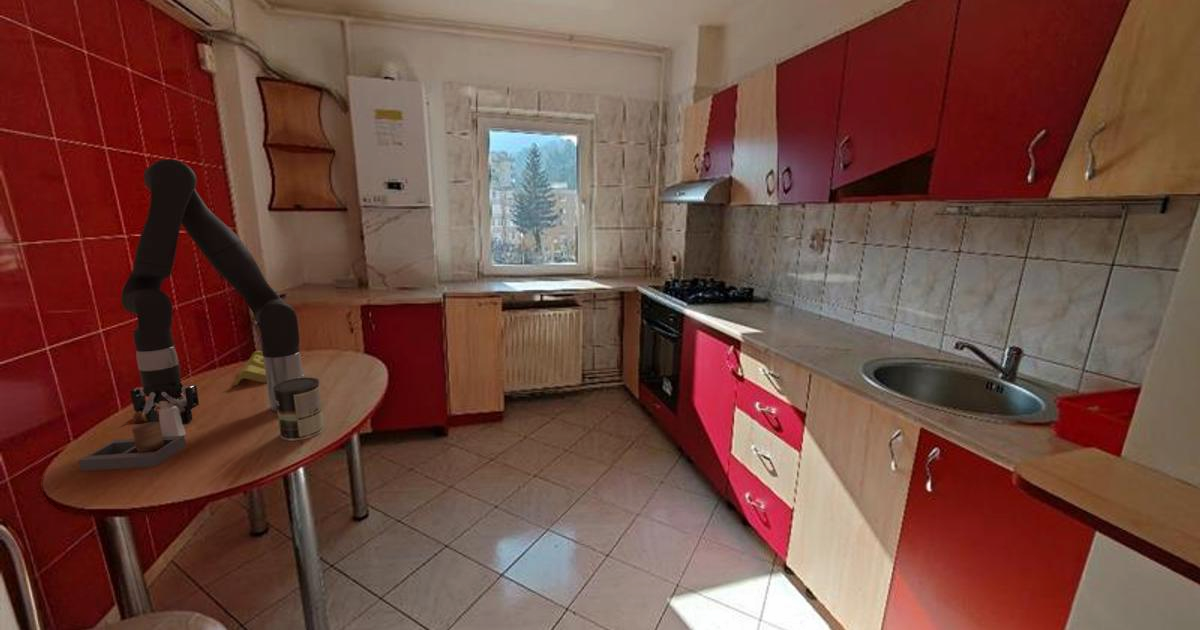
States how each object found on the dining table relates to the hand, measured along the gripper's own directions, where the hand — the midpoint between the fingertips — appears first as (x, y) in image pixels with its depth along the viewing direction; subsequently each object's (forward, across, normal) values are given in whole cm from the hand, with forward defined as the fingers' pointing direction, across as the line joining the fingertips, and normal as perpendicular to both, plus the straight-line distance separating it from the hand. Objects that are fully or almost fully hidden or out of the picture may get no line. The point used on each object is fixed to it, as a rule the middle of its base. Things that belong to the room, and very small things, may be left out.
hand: (170, 424), depth 122 cm
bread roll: (+4, +13, -15) cm, 20 cm away
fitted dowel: (+3, -3, +12) cm, 12 cm away
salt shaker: (+4, 0, 0) cm, 4 cm away
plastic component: (+4, +3, -48) cm, 48 cm away
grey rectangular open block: (+4, 0, +12) cm, 12 cm away
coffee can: (+4, -32, +1) cm, 32 cm away
